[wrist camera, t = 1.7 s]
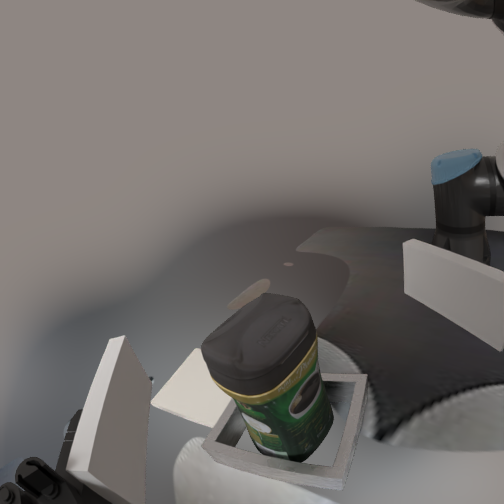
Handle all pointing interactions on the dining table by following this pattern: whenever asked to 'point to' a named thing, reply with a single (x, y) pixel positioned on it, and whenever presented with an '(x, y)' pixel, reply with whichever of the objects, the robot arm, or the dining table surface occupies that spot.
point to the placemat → (193, 393)
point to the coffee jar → (273, 375)
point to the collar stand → (335, 477)
